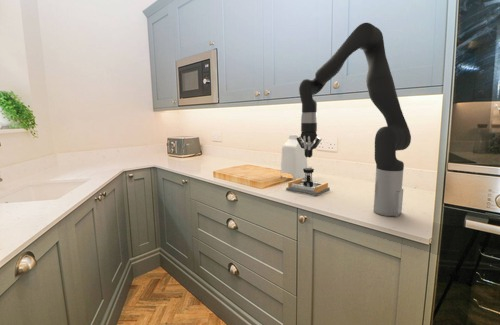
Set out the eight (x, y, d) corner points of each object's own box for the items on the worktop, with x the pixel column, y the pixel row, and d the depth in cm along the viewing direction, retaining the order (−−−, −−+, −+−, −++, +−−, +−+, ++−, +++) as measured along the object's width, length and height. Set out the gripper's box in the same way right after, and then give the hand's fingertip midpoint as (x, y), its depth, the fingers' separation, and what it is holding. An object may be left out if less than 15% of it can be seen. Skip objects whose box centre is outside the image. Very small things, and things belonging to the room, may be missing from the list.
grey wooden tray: (324, 187, 139) (324, 183, 138) (314, 192, 131) (314, 188, 131) (302, 183, 147) (302, 180, 147) (291, 187, 140) (291, 184, 139)
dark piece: (299, 187, 138) (300, 168, 136) (300, 184, 143) (301, 166, 141) (313, 188, 136) (313, 168, 134) (313, 185, 141) (314, 166, 139)
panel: (329, 189, 139) (329, 182, 138) (316, 196, 129) (316, 188, 128) (300, 184, 150) (300, 177, 150) (286, 190, 140) (286, 182, 139)
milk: (280, 176, 170) (280, 134, 166) (292, 173, 178) (292, 133, 173) (295, 180, 161) (296, 135, 157) (307, 176, 169) (308, 134, 164)
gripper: (325, 121, 132) (324, 157, 135) (301, 121, 141) (300, 155, 144) (317, 122, 126) (316, 159, 129) (293, 122, 135) (292, 156, 138)
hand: (308, 157), depth 137 cm, fingers closed
